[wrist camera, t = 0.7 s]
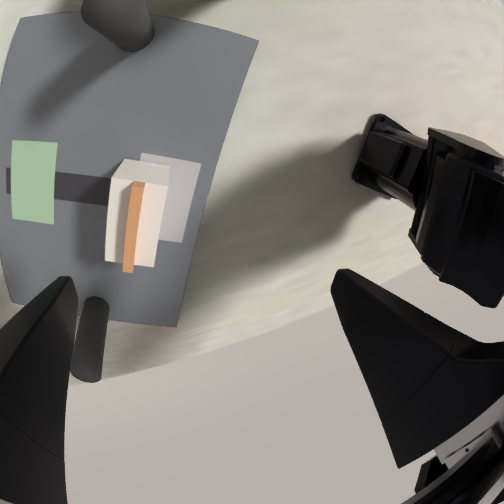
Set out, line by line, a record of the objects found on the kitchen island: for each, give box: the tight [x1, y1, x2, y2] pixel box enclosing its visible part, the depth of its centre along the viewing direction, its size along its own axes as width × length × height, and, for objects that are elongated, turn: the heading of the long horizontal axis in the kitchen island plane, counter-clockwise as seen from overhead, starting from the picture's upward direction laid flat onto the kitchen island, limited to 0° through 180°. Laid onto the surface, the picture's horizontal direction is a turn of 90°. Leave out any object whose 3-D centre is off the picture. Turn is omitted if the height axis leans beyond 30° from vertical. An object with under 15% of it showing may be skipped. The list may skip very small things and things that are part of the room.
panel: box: [0, 12, 259, 327], centre depth 16 cm, size 17×24×1 cm
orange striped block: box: [105, 159, 170, 273], centre depth 15 cm, size 3×5×5 cm, turn 162°
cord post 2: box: [81, 0, 155, 52], centre depth 8 cm, size 2×2×7 cm
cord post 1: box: [70, 296, 110, 383], centre depth 18 cm, size 2×2×7 cm
